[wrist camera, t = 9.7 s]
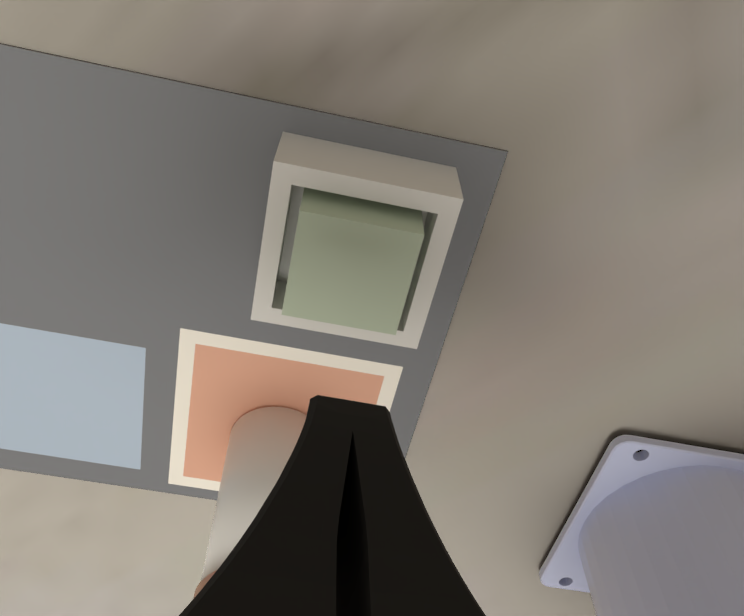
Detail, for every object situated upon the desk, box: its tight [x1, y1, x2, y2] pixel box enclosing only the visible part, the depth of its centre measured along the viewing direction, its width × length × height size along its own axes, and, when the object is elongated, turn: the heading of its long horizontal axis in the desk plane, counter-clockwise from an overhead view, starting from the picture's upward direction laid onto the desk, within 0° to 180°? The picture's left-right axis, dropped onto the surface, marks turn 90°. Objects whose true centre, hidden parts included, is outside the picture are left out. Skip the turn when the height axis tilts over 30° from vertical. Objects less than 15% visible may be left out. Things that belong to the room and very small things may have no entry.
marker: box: [194, 407, 307, 598], centre depth 21 cm, size 3×3×8 cm
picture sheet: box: [0, 43, 508, 500], centre depth 22 cm, size 15×15×1 cm
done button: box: [281, 187, 424, 335], centre depth 18 cm, size 3×3×2 cm
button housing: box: [251, 132, 464, 349], centre depth 19 cm, size 5×5×2 cm
